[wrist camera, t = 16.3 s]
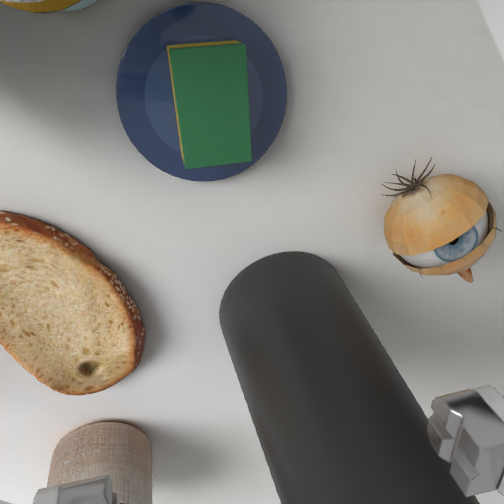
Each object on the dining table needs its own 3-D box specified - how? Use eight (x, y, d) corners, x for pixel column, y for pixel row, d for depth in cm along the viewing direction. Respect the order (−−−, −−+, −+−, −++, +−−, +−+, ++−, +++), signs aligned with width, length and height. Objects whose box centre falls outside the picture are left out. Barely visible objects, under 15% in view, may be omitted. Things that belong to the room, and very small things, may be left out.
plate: (98, 8, 30) (97, 8, 29) (281, -4, 32) (286, -4, 31) (135, 186, 36) (134, 192, 35) (284, 166, 39) (288, 171, 37)
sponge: (166, 45, 31) (169, 49, 28) (236, 40, 32) (246, 43, 29) (181, 155, 35) (185, 169, 32) (242, 148, 36) (252, 161, 33)
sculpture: (472, 142, 32) (554, 288, 36) (431, 125, 41) (502, 245, 45) (362, 213, 35) (451, 342, 39) (346, 183, 43) (420, 291, 48)
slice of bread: (-62, 197, 33) (-83, 218, 30) (170, 239, 39) (172, 259, 36) (-63, 371, 41) (-80, 402, 38) (132, 384, 47) (132, 412, 44)
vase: (337, 346, 51) (522, 664, 26) (222, 365, 48) (307, 737, 24) (348, 243, 44) (611, 543, 20) (215, 260, 42) (324, 627, 17)
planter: (118, 489, 55) (114, 573, 46) (34, 466, 50) (13, 556, 41) (170, 435, 52) (175, 515, 44) (87, 405, 47) (75, 489, 39)
